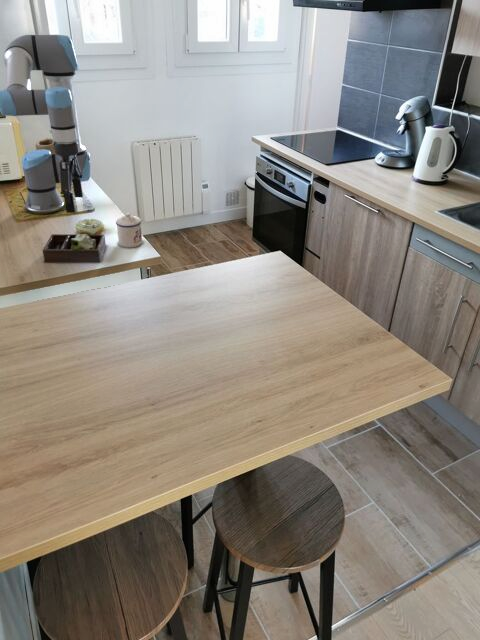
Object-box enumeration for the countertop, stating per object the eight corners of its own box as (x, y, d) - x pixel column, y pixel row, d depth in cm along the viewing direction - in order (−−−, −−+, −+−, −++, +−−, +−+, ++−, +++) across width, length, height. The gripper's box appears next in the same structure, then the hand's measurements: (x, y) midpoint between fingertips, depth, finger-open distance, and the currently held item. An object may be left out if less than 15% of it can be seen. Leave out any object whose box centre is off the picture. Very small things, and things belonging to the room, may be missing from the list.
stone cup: (39, 174, 255) (33, 143, 246) (37, 167, 264) (32, 137, 255) (71, 171, 259) (66, 141, 251) (68, 164, 269) (64, 135, 260)
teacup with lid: (138, 249, 189) (136, 219, 183) (114, 247, 190) (111, 217, 184) (147, 235, 199) (145, 207, 193) (125, 233, 200) (122, 205, 194)
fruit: (76, 263, 180) (68, 243, 176) (72, 254, 187) (64, 234, 183) (102, 254, 182) (94, 234, 178) (97, 246, 190) (89, 226, 185)
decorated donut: (96, 238, 196) (95, 229, 194) (71, 234, 198) (69, 225, 196) (109, 227, 204) (107, 219, 202) (84, 224, 206) (83, 215, 204)
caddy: (53, 245, 190) (51, 234, 187) (105, 245, 191) (104, 234, 188) (44, 262, 179) (42, 250, 176) (100, 262, 180) (98, 250, 178)
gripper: (61, 130, 174) (71, 191, 186) (43, 152, 154) (55, 219, 166) (84, 130, 175) (92, 191, 187) (69, 153, 154) (79, 219, 166)
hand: (75, 204), depth 176 cm, fingers open, 13 cm apart
